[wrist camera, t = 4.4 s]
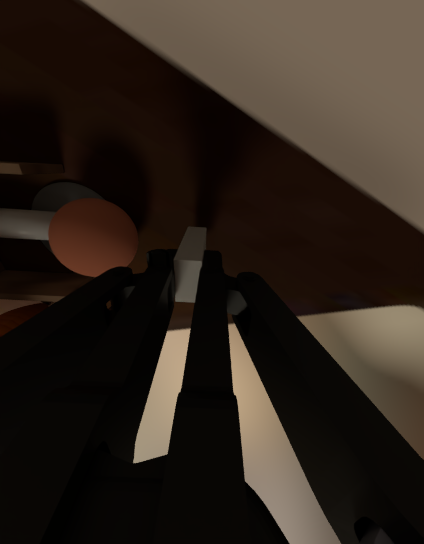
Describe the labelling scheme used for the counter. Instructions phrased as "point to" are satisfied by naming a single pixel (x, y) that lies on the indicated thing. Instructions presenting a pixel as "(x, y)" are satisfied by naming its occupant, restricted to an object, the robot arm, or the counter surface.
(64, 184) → the pin disc
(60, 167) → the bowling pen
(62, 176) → the counter surface
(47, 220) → the pin
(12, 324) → the carrot
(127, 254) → the ball
